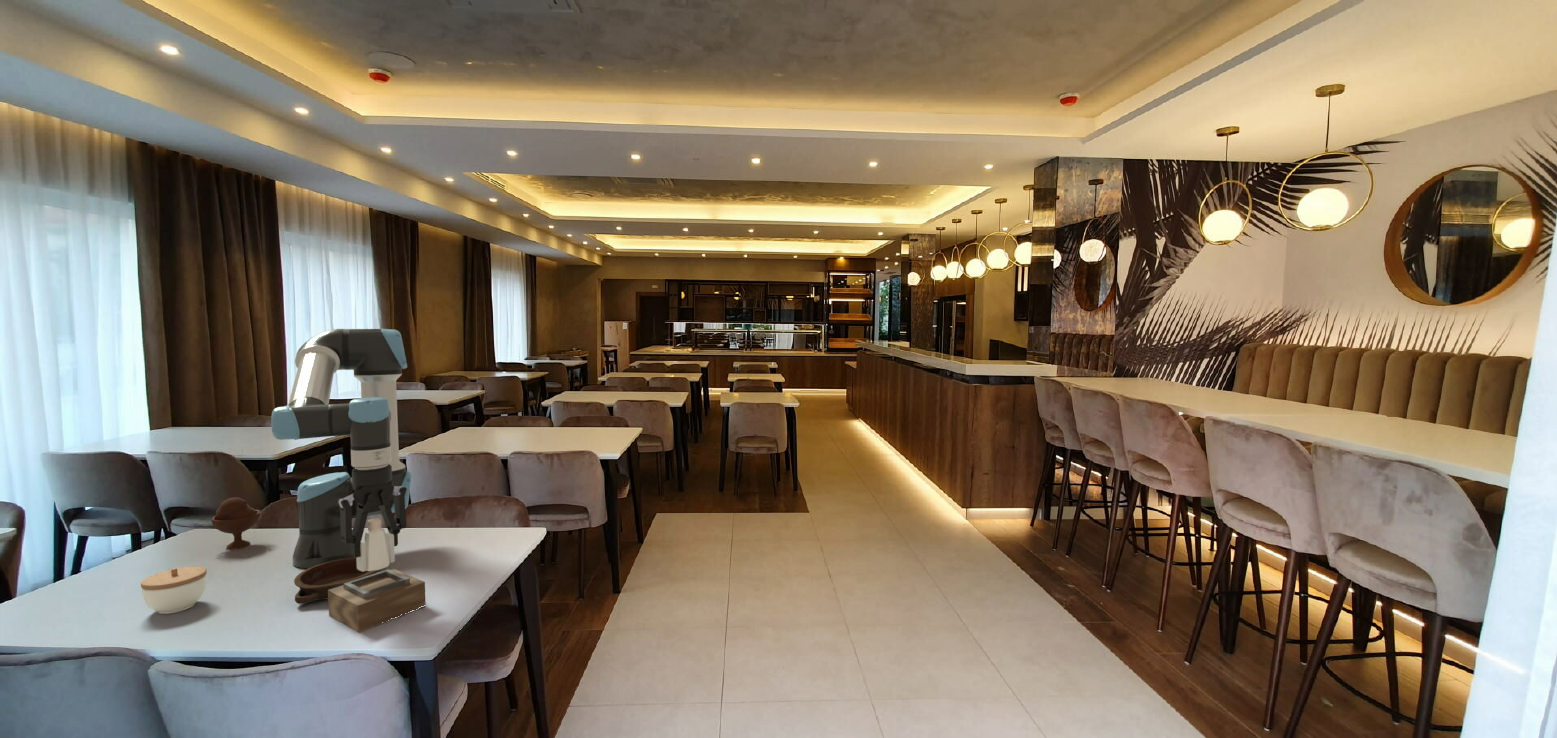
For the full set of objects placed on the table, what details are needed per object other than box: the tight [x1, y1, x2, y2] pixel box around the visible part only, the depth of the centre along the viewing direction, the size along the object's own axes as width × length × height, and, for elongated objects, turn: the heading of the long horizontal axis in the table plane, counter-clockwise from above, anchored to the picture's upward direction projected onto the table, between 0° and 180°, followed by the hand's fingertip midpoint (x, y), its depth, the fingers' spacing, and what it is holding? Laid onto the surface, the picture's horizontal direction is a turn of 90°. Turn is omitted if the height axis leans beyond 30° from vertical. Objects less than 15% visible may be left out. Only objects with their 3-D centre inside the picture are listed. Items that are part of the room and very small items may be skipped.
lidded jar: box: [140, 566, 208, 615], centre depth 138 cm, size 11×11×9 cm
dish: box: [293, 557, 383, 605], centre depth 149 cm, size 18×22×5 cm
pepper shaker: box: [363, 517, 391, 571], centre depth 136 cm, size 5×5×11 cm
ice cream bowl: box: [211, 496, 261, 550], centre depth 176 cm, size 11×11×15 cm
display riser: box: [327, 568, 427, 633], centre depth 137 cm, size 14×14×7 cm
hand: (376, 565), depth 137 cm, fingers closed on pepper shaker, 5 cm apart
